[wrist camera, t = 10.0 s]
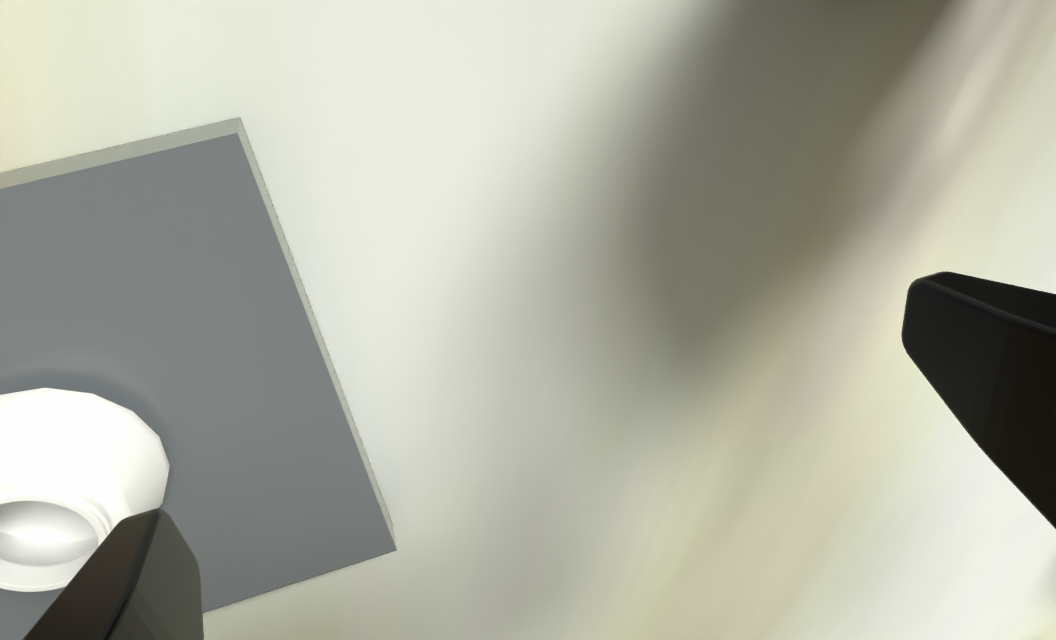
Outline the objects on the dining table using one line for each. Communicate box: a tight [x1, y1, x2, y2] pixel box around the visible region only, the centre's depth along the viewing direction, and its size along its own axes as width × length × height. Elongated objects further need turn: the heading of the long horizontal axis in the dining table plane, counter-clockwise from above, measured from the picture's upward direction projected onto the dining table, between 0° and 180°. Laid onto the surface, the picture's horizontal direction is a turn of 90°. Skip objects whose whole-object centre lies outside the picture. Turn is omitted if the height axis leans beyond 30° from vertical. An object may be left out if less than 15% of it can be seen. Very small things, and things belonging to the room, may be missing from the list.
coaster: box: [0, 117, 397, 640], centre depth 20 cm, size 14×14×1 cm
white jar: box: [0, 388, 170, 592], centre depth 18 cm, size 5×3×5 cm
